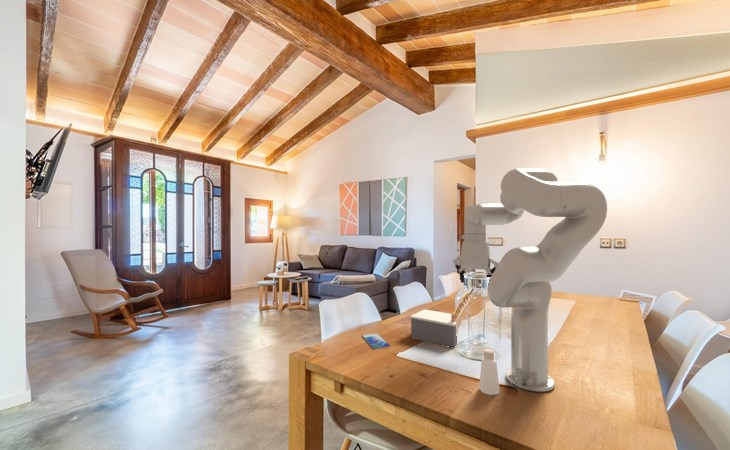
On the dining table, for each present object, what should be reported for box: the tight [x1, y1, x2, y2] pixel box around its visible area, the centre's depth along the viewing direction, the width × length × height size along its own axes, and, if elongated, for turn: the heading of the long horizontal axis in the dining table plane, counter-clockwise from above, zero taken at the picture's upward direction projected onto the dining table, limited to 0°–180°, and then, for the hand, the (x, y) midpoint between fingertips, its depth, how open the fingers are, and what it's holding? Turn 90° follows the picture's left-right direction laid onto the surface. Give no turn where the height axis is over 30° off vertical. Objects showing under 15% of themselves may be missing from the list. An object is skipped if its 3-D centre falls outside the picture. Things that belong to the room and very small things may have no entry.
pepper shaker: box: [478, 348, 501, 396], centre depth 88 cm, size 5×5×11 cm
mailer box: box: [410, 318, 457, 349], centre depth 128 cm, size 12×18×8 cm, turn 53°
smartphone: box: [361, 333, 391, 350], centre depth 126 cm, size 7×1×15 cm
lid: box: [409, 309, 456, 326], centre depth 128 cm, size 12×18×4 cm
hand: (475, 283), depth 120 cm, fingers open, 9 cm apart
